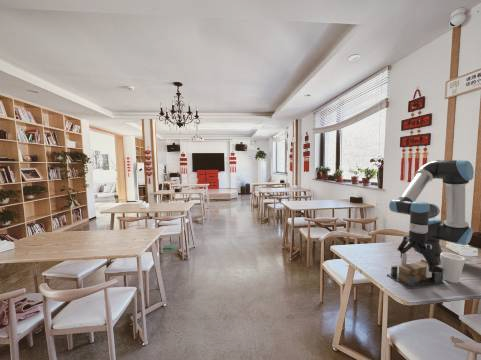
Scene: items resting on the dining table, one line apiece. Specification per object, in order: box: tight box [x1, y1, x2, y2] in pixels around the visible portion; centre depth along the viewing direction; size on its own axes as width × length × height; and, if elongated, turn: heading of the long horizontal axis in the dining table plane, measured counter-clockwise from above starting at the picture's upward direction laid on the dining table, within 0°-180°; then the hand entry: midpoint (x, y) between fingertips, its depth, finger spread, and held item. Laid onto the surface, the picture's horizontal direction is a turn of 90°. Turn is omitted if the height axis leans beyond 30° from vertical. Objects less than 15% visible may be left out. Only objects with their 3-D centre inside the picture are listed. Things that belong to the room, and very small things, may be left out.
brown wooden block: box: [398, 260, 431, 284], centre depth 118 cm, size 18×5×7 cm, turn 110°
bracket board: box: [386, 259, 446, 290], centre depth 118 cm, size 22×13×8 cm, turn 102°
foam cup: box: [439, 252, 466, 284], centre depth 118 cm, size 10×9×13 cm
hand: (415, 270), depth 118 cm, fingers open, 13 cm apart
